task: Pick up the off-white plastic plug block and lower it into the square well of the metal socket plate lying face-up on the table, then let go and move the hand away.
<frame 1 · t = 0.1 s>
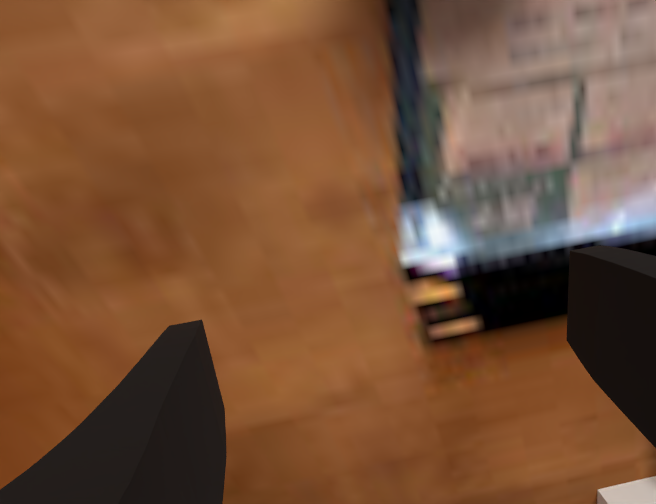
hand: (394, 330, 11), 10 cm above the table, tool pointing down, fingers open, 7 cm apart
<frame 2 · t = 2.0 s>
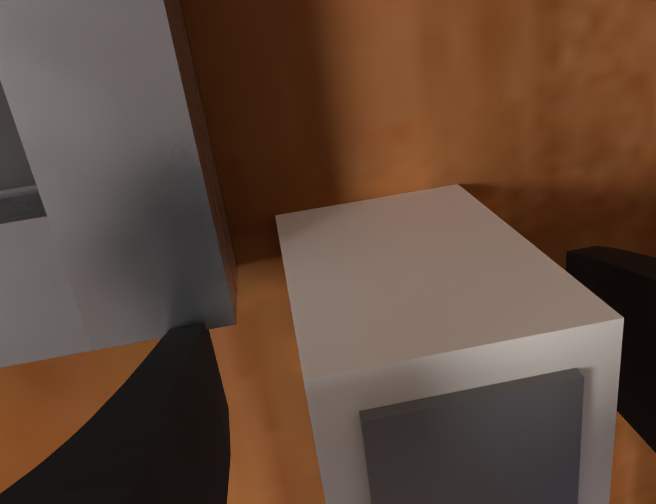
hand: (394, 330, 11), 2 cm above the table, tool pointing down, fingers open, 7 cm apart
plug: (376, 282, 13), on the table
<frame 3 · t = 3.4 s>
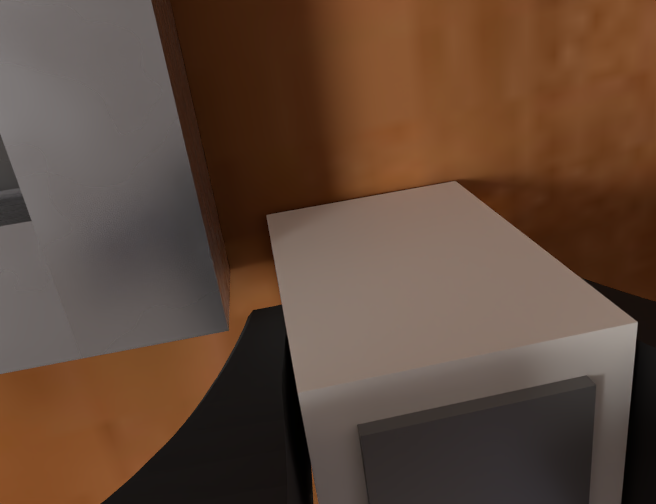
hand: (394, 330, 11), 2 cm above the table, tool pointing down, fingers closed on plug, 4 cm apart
plug: (372, 283, 13), on the table, touching gripper
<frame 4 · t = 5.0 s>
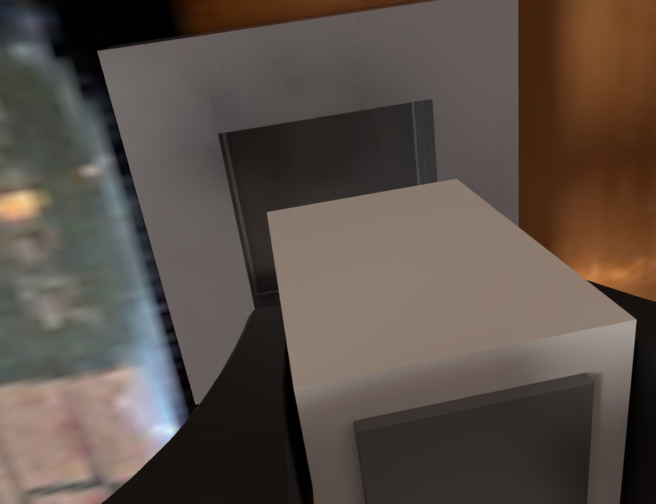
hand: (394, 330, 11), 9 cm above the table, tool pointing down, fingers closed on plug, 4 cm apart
socket: (328, 193, 20), on the table
plug: (372, 281, 13), point 7 cm above the table, touching gripper
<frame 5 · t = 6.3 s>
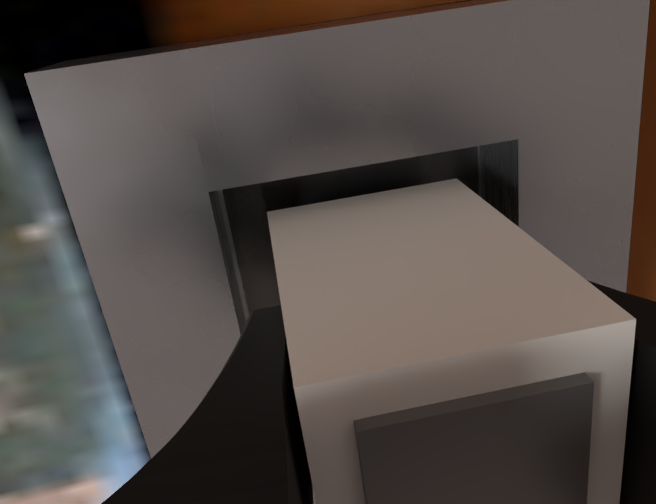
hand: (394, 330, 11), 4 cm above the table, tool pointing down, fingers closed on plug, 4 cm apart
socket: (359, 256, 15), on the table
plug: (372, 281, 13), point 2 cm above the table, touching gripper
when the fingers open (4 cm above the table, at t = 7.0 s): plug drops 1 cm, resting on socket.
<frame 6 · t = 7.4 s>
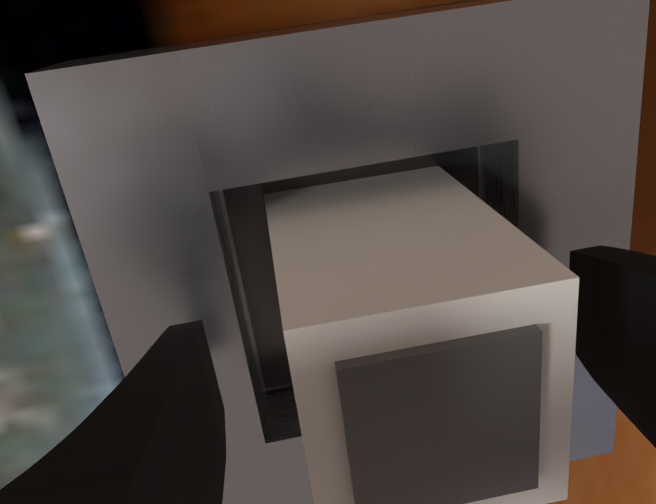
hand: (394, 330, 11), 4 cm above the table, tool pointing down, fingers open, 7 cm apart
socket: (359, 256, 15), on the table
plug: (361, 260, 14), point 1 cm above the table, touching socket
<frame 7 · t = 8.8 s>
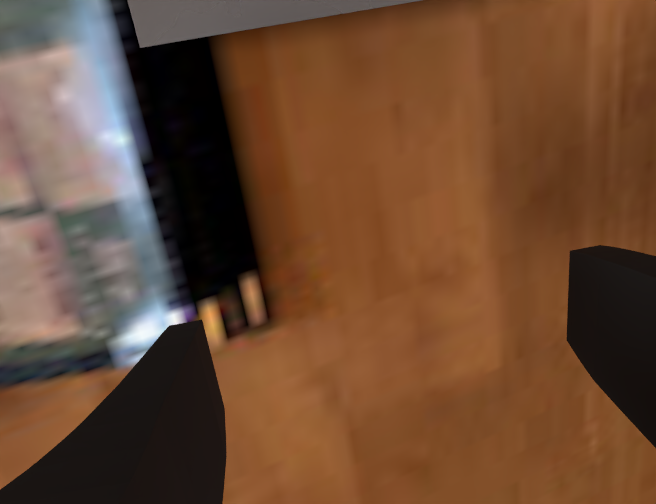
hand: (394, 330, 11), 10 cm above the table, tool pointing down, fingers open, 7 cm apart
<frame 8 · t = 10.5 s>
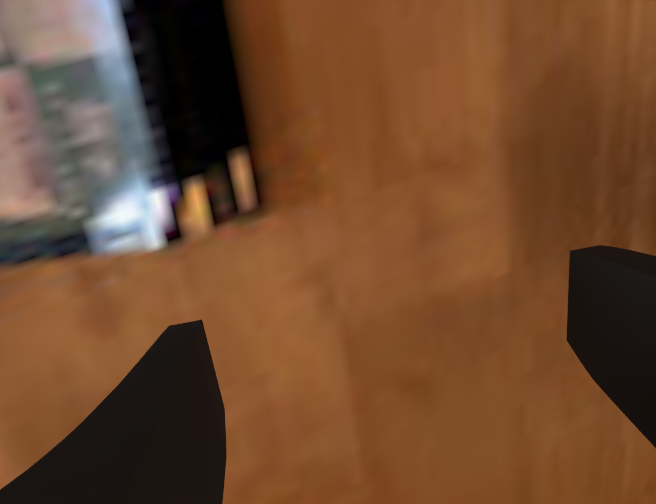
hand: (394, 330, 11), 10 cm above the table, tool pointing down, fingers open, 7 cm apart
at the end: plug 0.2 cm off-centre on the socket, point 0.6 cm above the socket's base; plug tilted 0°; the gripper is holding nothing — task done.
